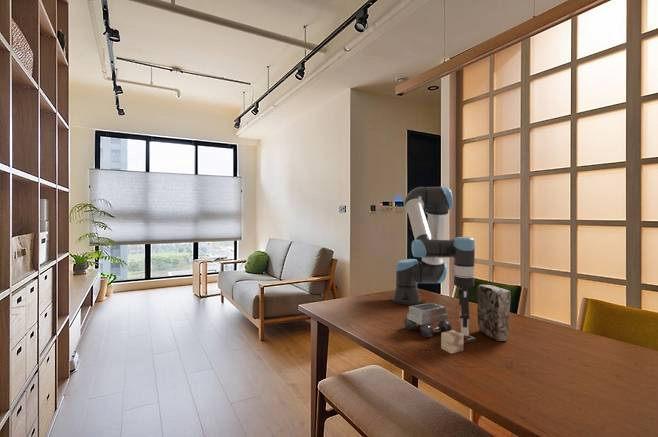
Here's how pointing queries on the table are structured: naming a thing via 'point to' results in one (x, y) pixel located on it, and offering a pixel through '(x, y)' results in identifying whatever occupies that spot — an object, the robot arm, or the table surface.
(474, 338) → the collar
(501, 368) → the table surface
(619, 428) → the table surface
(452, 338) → the block
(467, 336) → the pin
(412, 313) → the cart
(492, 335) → the stone block
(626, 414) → the table surface
